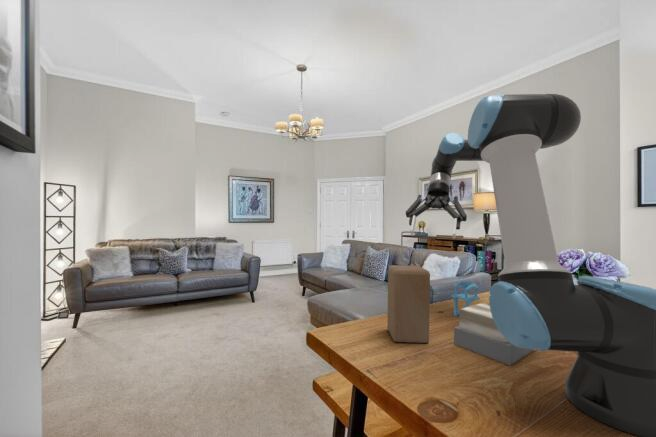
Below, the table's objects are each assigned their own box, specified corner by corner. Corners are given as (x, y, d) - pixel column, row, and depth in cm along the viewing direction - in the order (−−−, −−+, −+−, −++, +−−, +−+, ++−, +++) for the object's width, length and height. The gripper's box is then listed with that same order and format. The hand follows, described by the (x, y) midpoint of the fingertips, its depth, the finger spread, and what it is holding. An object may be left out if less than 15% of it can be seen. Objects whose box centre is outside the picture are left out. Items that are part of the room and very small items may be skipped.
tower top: (506, 343, 70) (506, 322, 70) (459, 327, 80) (459, 309, 80) (528, 333, 76) (528, 314, 76) (482, 319, 86) (482, 302, 86)
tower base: (509, 367, 68) (510, 346, 68) (454, 345, 79) (454, 327, 79) (533, 352, 76) (533, 333, 76) (479, 334, 88) (480, 318, 88)
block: (430, 344, 79) (431, 270, 79) (393, 343, 79) (394, 270, 79) (419, 330, 89) (420, 265, 89) (386, 329, 89) (387, 264, 89)
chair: (448, 313, 106) (448, 280, 106) (464, 310, 109) (465, 279, 109) (465, 320, 99) (466, 285, 99) (483, 317, 102) (483, 283, 102)
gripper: (475, 195, 107) (472, 244, 96) (406, 193, 117) (396, 236, 106) (476, 181, 101) (474, 231, 90) (404, 180, 112) (394, 225, 101)
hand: (432, 234), depth 98 cm, fingers open, 13 cm apart
